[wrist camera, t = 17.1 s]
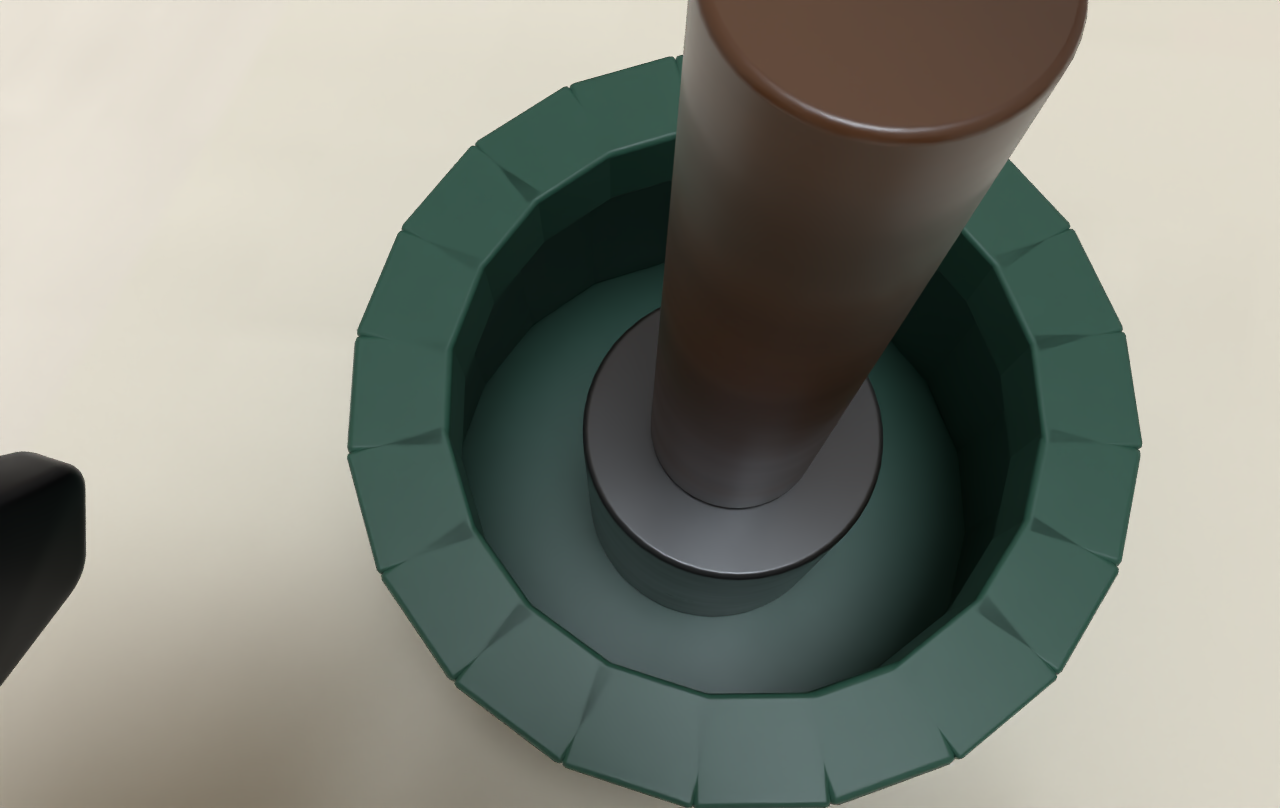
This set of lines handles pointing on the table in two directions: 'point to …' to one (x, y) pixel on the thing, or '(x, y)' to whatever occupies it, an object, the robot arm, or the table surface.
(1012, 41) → the brown cylinder with base
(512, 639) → the round container
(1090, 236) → the table surface
